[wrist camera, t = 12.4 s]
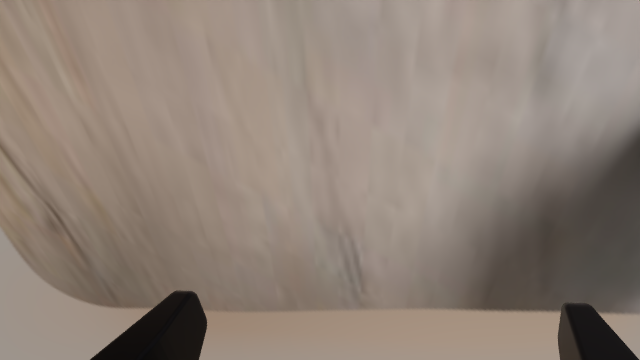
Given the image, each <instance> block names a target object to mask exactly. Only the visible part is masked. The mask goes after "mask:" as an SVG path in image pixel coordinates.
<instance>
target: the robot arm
mask: <svg viewBox="0 0 640 360" xmlns="http://www.w3.org/2000/svg"><path fill="white" fill-rule="evenodd" d="M206 329H207V319H206V316H205V313H204V311H203V308H202V306H201V303H200V301H199V299H198V296H197V294H196V293H195V292H193V291H175V292H173V293H172V294H170V295H169V296H168V297H167V298H165V299H164V300H163V301H162V302H160V303H159V304H158V305H157V306H156V307H154V308H153V309H152V310H151V311H149V312H148V313H147V314H146V315H144V316H143V317H142V318H141V319H140V320H138V321H137V322H136V323H135V324H133V325H132V326H131V327H130V328H128V329H127V330H126V331H125V332H123V333H122V334H121V335H120V336H119V337H117V338H116V339H115V340H114V341H112V342H111V343H110V344H109V345H108V346H106V347H105V348H104V349H103V350H101V351H100V352H99V353H98V354H96V355H95V356H94V357H93V358H91V359H90V360H199V357H200V353H201V349H202V345H203V341H204V337H205V333H206ZM558 346H559V353H560V360H639V359H638V358H637V357H636V356H635V354H634V353H633V352H632V351H631V350H630V349H629V348H628V347H627V346H626V345H625V343H624V342H623V341H622V340H621V339H620V338H619V336H618V335H617V334H616V333H615V332H614V331H613V330H612V329H611V328H610V326H609V325H608V324H607V323H606V322H605V321H604V320H603V319H602V317H601V316H600V315H599V314H598V313H597V312H596V311H595V310H594V308H593V307H592V306H590V305H589V304H586V303H565V304H563V306H562V309H561V317H560V324H559V332H558Z"/></svg>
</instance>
